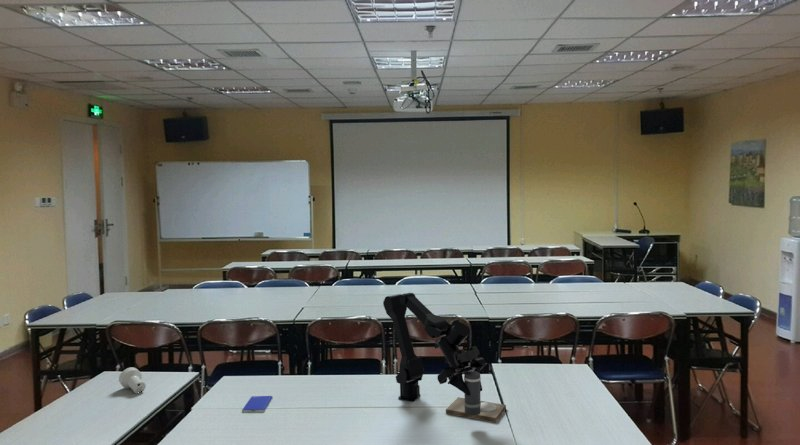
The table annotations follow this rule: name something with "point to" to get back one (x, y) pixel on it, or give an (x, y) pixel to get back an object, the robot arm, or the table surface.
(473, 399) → the dark grey cylinder
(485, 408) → the mount board
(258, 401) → the blue book
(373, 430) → the table surface
